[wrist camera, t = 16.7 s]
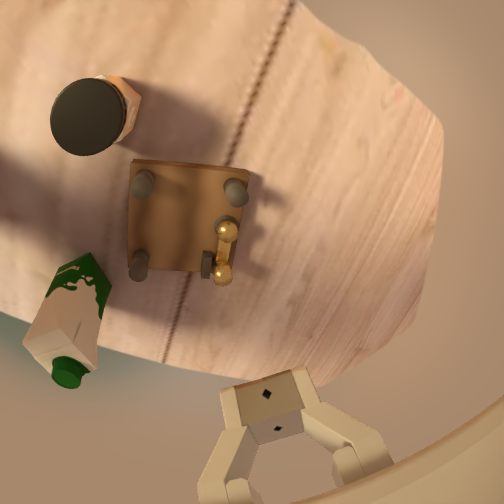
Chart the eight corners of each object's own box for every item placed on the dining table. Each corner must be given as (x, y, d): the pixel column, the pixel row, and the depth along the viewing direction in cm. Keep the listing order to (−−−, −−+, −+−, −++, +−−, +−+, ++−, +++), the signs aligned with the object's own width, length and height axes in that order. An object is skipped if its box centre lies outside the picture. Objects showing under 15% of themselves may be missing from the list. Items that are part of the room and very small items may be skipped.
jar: (130, 144, 39) (112, 167, 29) (76, 134, 36) (43, 154, 26) (148, 82, 35) (135, 80, 25) (92, 71, 32) (60, 69, 22)
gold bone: (217, 217, 44) (221, 230, 41) (237, 219, 45) (242, 232, 41) (209, 269, 48) (212, 285, 45) (227, 270, 49) (231, 286, 45)
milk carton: (80, 304, 50) (54, 395, 33) (51, 264, 45) (9, 352, 28) (119, 287, 50) (102, 383, 33) (91, 244, 45) (55, 335, 28)
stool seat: (129, 258, 47) (124, 285, 42) (133, 158, 40) (125, 172, 34) (228, 264, 52) (235, 290, 46) (246, 169, 44) (256, 184, 38)
